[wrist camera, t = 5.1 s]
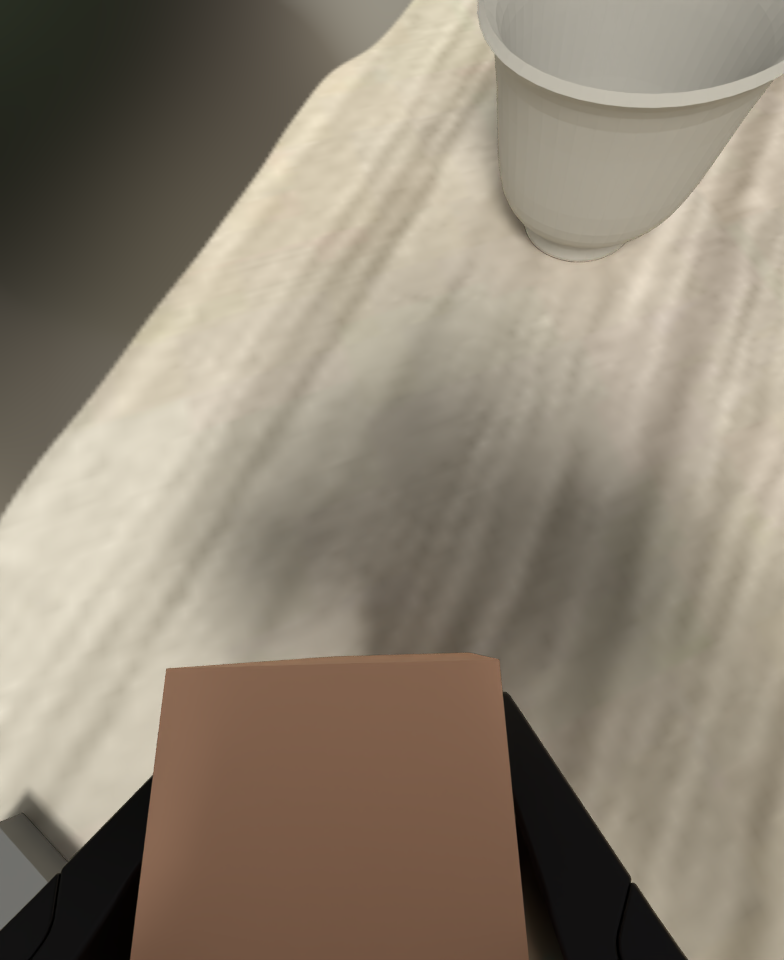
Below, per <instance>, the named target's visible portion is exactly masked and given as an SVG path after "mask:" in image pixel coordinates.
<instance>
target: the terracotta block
mask: <svg viewBox="0 0 784 960" xmlns="http://www.w3.org/2000/svg"><path fill="white" fill-rule="evenodd" d="M130 960H529V955H528V945H527V935H526V925H525V915H524V905H523V894H522V884H521V874H520V864H519V854H518V844H517V834H516V824H515V814H514V803H513V793H512V783H511V773H510V763H509V753H508V743H507V733H506V722H505V712H504V702H503V692H502V682H501V672H500V662H499V659H495V658H491V657H486V656H482V655H477V654H473V653H437V654H403V655H369V656H334V657H319V658H305V659H292V660H278V661H264V662H250V663H237V664H223V665H209V666H195V667H181V668H168V669H166V676H165V684H164V692H163V700H162V708H161V716H160V724H159V732H158V740H157V748H156V756H155V764H154V772H153V780H152V788H151V796H150V804H149V812H148V820H147V828H146V836H145V844H144V852H143V860H142V868H141V876H140V884H139V892H138V900H137V908H136V916H135V924H134V932H133V940H132V948H131V956H130Z"/></svg>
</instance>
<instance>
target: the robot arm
mask: <svg viewBox="0 0 784 960" xmlns="http://www.w3.org/2000/svg"><path fill="white" fill-rule="evenodd" d="M503 702H504V712H505V722H506V733H507V743H508V753H509V763H510V773H511V783H512V793H513V803H514V814H515V824H516V834H517V844H518V854H519V864H520V874H521V884H522V894H523V905H524V915H525V925H526V935H527V945H528V955H529V960H688V959H687V957H686V956H685V955H684V953H683V952H682V951H681V949H680V948H679V946H678V945H677V943H676V942H675V941H674V939H673V938H672V936H671V935H670V933H669V932H668V931H667V929H666V928H665V926H664V925H663V923H662V922H661V921H660V919H659V918H658V916H657V915H656V913H655V912H654V910H653V909H652V907H651V906H650V904H649V903H648V901H647V900H646V898H645V897H644V895H643V894H642V892H641V891H640V889H639V888H638V886H637V885H636V884H635V883H631V876H630V875H629V873H628V872H627V870H626V869H625V867H624V866H623V864H622V863H621V861H620V860H619V858H618V857H617V855H616V854H615V852H614V851H613V849H612V848H611V846H610V845H609V843H608V842H607V840H606V839H605V837H604V836H603V834H602V833H601V831H600V830H599V828H598V827H597V825H596V824H595V822H594V821H593V819H592V818H591V816H590V815H589V813H588V812H587V810H586V809H585V807H584V806H583V804H582V803H581V801H580V800H579V798H578V797H577V795H576V794H575V792H574V791H573V789H572V788H571V786H570V785H569V783H568V782H567V780H566V779H565V777H564V776H563V774H562V773H561V771H560V770H559V768H558V767H557V765H556V764H555V762H554V761H553V759H552V758H551V756H550V755H549V753H548V752H547V750H546V749H545V747H544V746H543V744H542V743H541V741H540V740H539V738H538V737H537V735H536V734H535V732H534V731H533V729H532V728H531V726H530V725H529V723H528V722H527V720H526V719H525V717H524V716H523V714H522V713H521V711H520V710H519V708H518V707H517V705H516V704H515V702H514V701H513V699H512V697H511V696H510V695H509V694H508V693H507V692H503ZM152 780H153V775H152V776H151V777H150V778H149V779H148V780H147V781H146V782H145V783H144V784H143V786H142V787H141V788H140V789H139V790H138V791H137V792H136V793H135V794H134V795H133V796H132V797H131V798H130V799H129V800H128V801H127V802H126V803H125V804H124V805H123V806H122V807H121V808H120V809H119V810H118V811H117V812H116V813H115V814H114V815H113V816H112V817H111V818H110V819H109V820H108V821H107V822H106V823H105V824H104V825H103V827H102V828H101V829H100V830H99V831H98V832H97V833H96V834H95V835H94V836H93V837H92V838H91V839H90V840H89V841H88V842H87V843H86V844H85V845H84V846H83V847H82V848H81V849H80V850H79V851H78V852H77V853H76V854H75V855H74V856H73V857H72V858H71V859H70V860H69V861H68V862H67V863H66V864H65V865H64V866H63V868H62V870H61V873H57V874H55V875H54V876H53V878H52V879H51V880H50V881H49V882H48V883H47V884H46V885H45V886H44V887H43V888H42V889H41V890H40V891H39V892H38V893H37V894H36V895H35V896H34V897H33V898H32V899H31V900H30V901H29V902H28V903H27V904H26V905H25V906H24V907H23V908H22V909H21V910H20V911H19V912H18V913H17V914H16V915H15V916H14V917H13V918H12V919H11V920H10V921H9V922H8V923H7V924H6V925H5V926H4V927H3V928H2V929H1V930H0V960H130V956H131V948H132V940H133V932H134V924H135V916H136V908H137V900H138V892H139V884H140V876H141V868H142V860H143V852H144V844H145V836H146V828H147V820H148V812H149V804H150V796H151V788H152Z"/></svg>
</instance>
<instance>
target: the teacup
mask: <svg viewBox="0 0 784 960" xmlns="http://www.w3.org/2000/svg"><path fill="white" fill-rule="evenodd" d="M477 14H478V19H479V25H480V28H481V31H482V33H483V36H484V38H485V40H486V42H487V43H488V45H489V46H490V48H491V50H492V51H493V52H494V54H495V68H496V83H497V130H498V159H499V171H500V177H501V182H502V187H503V191H504V194H505V197H506V199H507V201H508V204H509V205H510V207H511V209H512V211H513V212H514V214H515V215H516V216H517V217H518V219H519V220H520V221H521V222H522V223H523V224H524V225H525V228H526V232H527V235H528V237H529V238H530V240H531V241H532V243H533V244H534V245H535V246H536V247H537V248H538V249H540V250H541V251H543V252H544V253H546V254H548V255H550V256H552V257H555V258H558V259H561V260H566V261H572V262H587V261H593V260H597V259H600V258H603V257H606V256H608V255H610V254H612V253H613V252H615V251H617V250H618V249H619V248H620V247H622V246H623V245H624V243H625V242H628V241H631V240H633V239H635V238H637V237H640V236H642V235H644V234H646V233H648V232H649V231H651V230H652V229H654V228H656V227H657V226H658V225H660V224H661V223H662V222H664V221H665V220H666V219H667V218H668V217H670V216H671V215H672V214H673V213H674V212H675V211H676V210H677V209H678V208H679V207H680V206H681V204H682V203H683V202H684V201H685V200H686V199H687V198H688V197H689V195H690V194H691V193H692V191H693V190H694V189H695V188H696V186H697V185H698V184H699V183H700V181H701V180H702V179H703V177H704V176H705V174H706V173H707V172H708V170H709V169H710V167H711V166H712V164H713V163H714V162H715V160H716V159H717V157H718V156H719V154H720V153H721V152H722V150H723V149H724V147H725V146H726V144H727V143H728V142H729V140H730V139H731V137H732V136H733V134H734V133H735V131H736V130H737V129H738V127H739V126H740V124H741V123H742V121H743V120H744V119H745V117H746V116H747V114H748V113H749V112H750V110H751V109H752V108H753V106H754V105H755V104H756V102H757V101H758V100H759V99H760V97H761V96H762V95H763V93H764V92H765V91H766V89H767V88H768V87H769V86H770V84H771V83H772V82H773V80H774V79H776V78H778V77H779V76H781V75H782V74H784V0H478V11H477Z"/></svg>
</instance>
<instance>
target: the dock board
mask: <svg viewBox="0 0 784 960" xmlns="http://www.w3.org/2000/svg"><path fill="white" fill-rule="evenodd" d="M66 863H67V861H66V860H65V859H64V858H63V857H62V856H61V854H60V853H59V852H58V851H57V850H56V849H55V848H54V847H53V846H52V845H51V843H50V842H49V841H48V840H47V839H46V838H45V837H44V836H43V835H42V834H41V833H40V831H39V830H38V829H37V828H36V827H35V826H34V825H33V824H32V823H31V822H30V820H29V819H28V818H27V817H26V816H25V815H24V814H23V813H21V814H19V815H16V816H14V817H11V818H9V819H6V820H4V821H1V822H0V930H1V929H2V928H3V927H4V926H5V925H6V924H7V923H8V922H9V921H10V920H11V919H12V918H13V917H14V916H15V915H16V914H17V913H18V912H19V911H20V910H21V909H22V908H23V907H24V906H25V905H26V904H27V903H28V902H29V901H30V900H31V899H32V898H33V897H34V896H35V895H36V894H37V893H38V892H39V891H40V890H41V889H42V888H43V887H44V886H45V885H46V884H47V883H48V882H49V881H50V880H51V879H52V878H53V876H54V875H55V874H57V873H61V870H62V868H63V866H64V865H65V864H66Z"/></svg>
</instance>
